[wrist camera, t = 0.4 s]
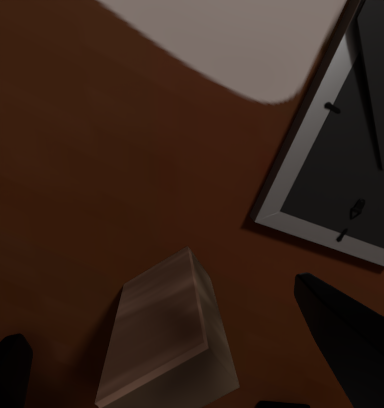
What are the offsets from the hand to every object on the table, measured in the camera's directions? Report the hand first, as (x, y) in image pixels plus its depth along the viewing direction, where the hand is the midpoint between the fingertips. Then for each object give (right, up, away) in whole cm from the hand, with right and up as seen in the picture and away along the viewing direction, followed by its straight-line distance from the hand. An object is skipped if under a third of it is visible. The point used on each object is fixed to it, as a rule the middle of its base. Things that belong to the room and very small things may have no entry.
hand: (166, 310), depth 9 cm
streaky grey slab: (-1, -4, +17) cm, 17 cm away
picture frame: (+17, +10, +15) cm, 25 cm away
